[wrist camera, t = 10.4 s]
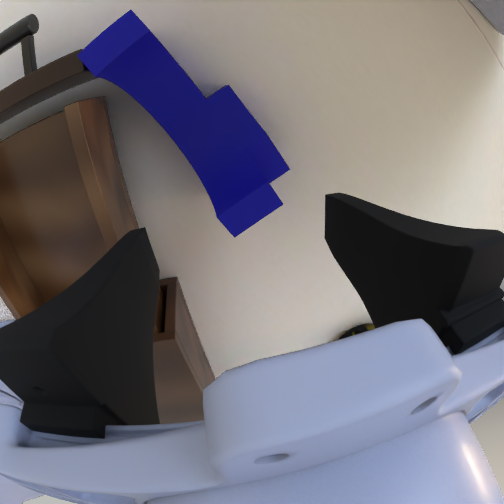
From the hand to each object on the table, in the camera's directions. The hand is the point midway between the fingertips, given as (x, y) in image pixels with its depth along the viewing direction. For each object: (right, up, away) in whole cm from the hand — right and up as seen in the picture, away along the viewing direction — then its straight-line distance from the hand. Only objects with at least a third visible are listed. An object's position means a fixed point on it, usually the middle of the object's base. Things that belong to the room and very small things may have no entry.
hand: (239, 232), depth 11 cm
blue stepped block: (-3, +8, +5) cm, 10 cm away
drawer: (-13, +4, +5) cm, 15 cm away
